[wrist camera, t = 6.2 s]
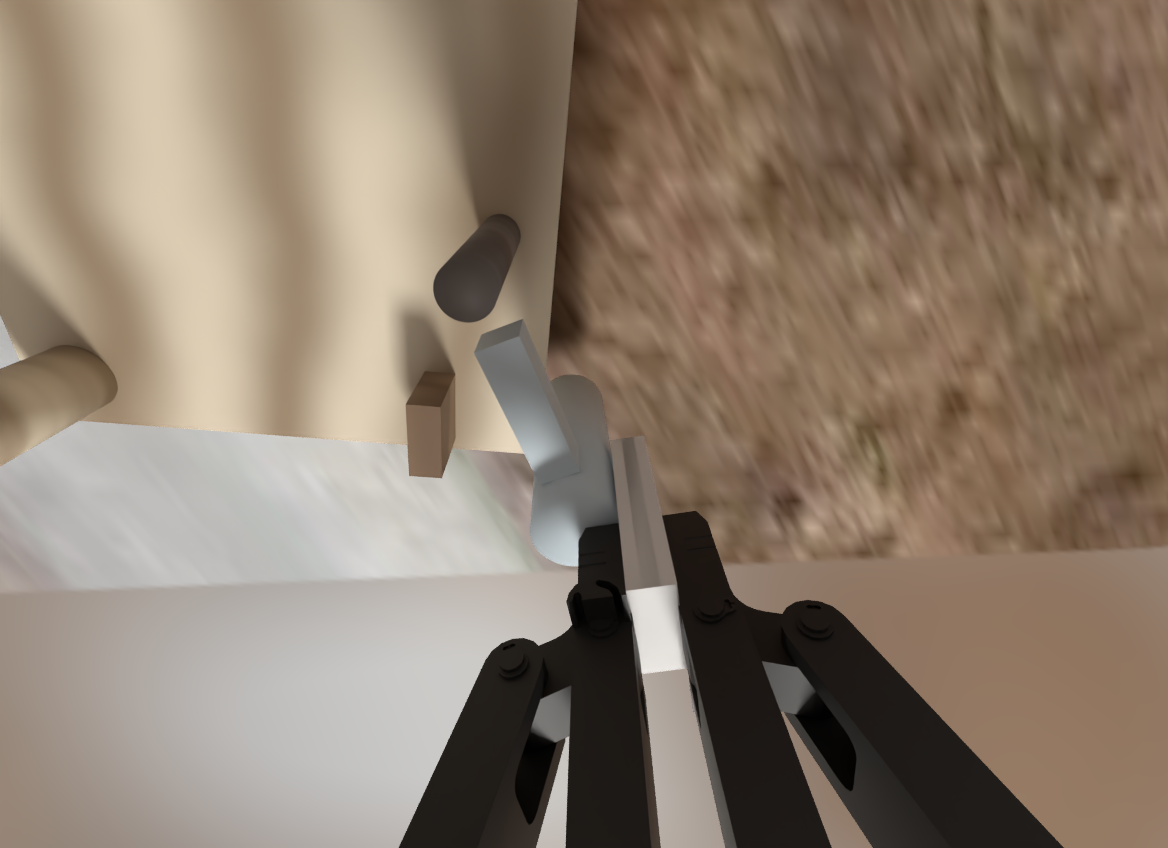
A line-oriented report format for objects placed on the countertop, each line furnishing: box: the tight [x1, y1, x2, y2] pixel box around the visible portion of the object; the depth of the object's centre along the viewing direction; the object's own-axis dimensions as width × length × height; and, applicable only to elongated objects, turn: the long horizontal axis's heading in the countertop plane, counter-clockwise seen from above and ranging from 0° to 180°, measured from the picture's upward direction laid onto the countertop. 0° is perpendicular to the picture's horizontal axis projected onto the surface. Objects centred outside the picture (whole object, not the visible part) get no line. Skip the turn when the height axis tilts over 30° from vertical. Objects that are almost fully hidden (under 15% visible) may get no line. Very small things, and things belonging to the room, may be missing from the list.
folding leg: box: [474, 319, 619, 566], centre depth 17 cm, size 3×7×8 cm, turn 20°
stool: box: [0, 0, 577, 478], centre depth 15 cm, size 20×20×10 cm
